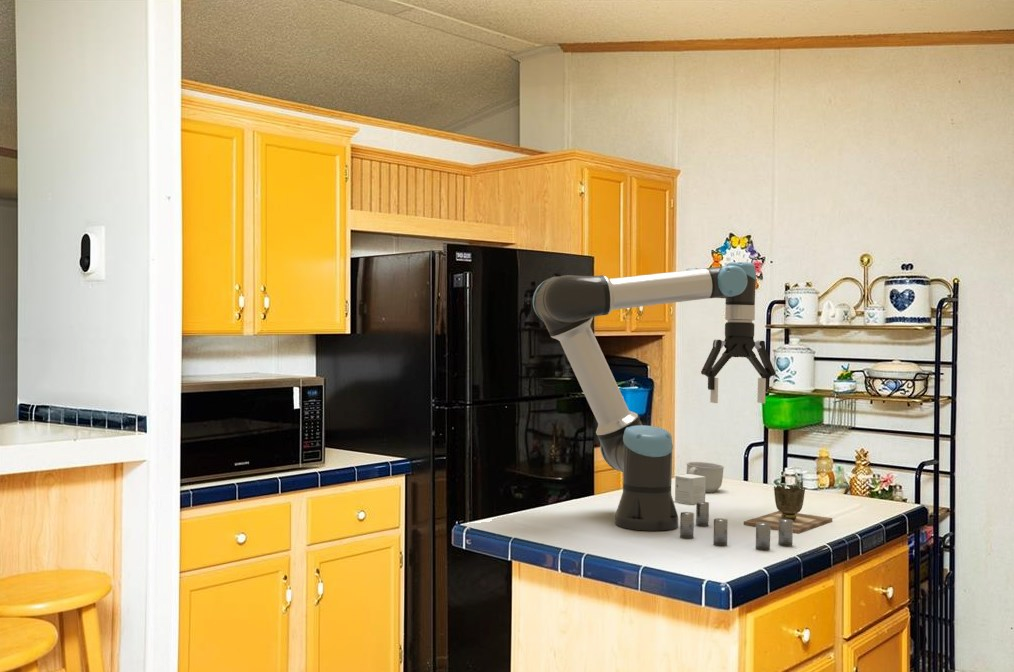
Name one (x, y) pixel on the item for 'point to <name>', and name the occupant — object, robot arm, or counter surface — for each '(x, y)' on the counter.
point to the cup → (789, 500)
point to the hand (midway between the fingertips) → (737, 402)
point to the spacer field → (722, 525)
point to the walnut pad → (799, 524)
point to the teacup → (707, 473)
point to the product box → (690, 488)
